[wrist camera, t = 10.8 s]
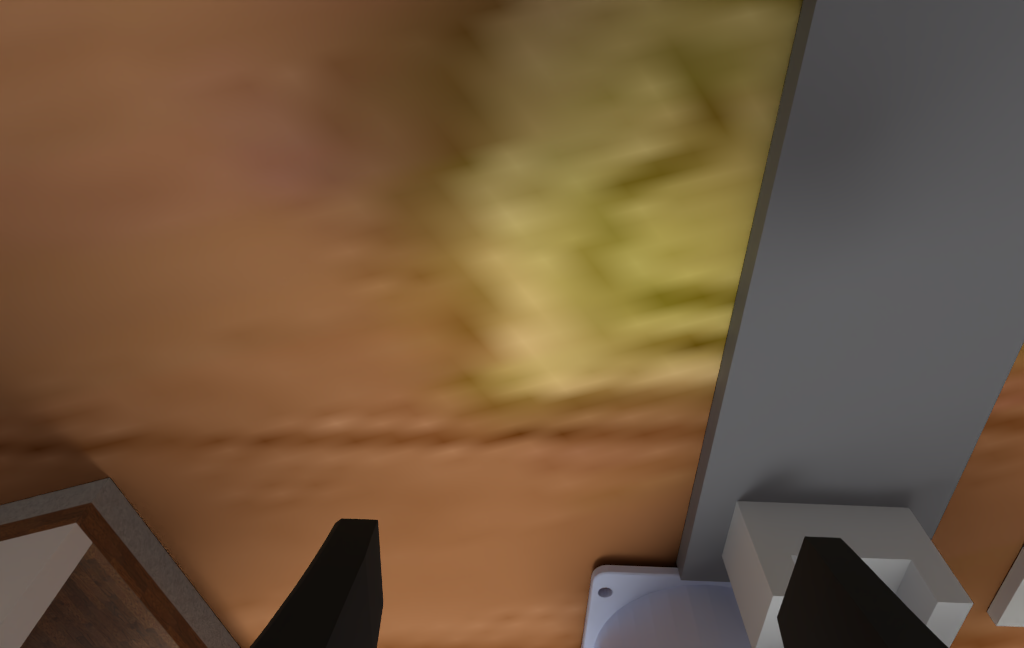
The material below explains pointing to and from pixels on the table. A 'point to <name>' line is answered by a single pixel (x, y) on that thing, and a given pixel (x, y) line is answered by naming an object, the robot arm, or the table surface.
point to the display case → (94, 578)
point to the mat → (1010, 597)
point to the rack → (869, 304)
